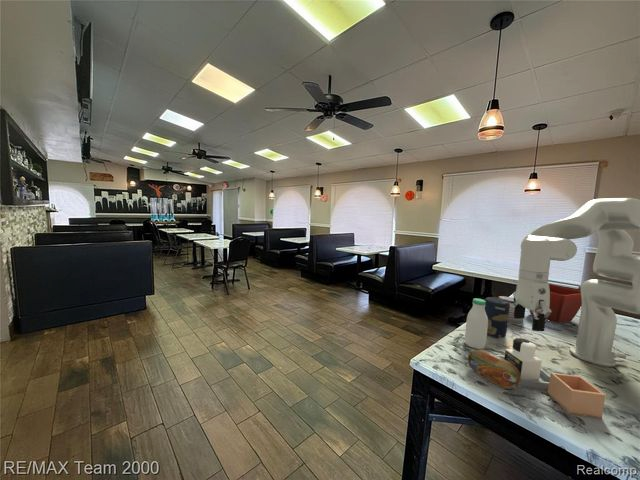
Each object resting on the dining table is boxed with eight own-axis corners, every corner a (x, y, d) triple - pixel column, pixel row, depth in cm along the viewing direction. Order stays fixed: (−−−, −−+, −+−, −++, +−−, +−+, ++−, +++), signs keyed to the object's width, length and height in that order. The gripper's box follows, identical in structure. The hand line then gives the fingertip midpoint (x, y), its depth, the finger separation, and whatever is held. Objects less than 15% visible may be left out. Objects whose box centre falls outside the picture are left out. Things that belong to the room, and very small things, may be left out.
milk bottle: (488, 350, 101) (494, 304, 99) (468, 348, 102) (473, 302, 100) (480, 341, 108) (485, 297, 106) (461, 339, 110) (465, 295, 108)
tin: (466, 368, 89) (468, 346, 88) (470, 365, 90) (473, 344, 90) (516, 395, 76) (519, 369, 75) (520, 391, 78) (523, 366, 77)
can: (492, 317, 135) (494, 296, 134) (504, 314, 140) (506, 293, 139) (515, 326, 125) (518, 303, 124) (527, 322, 130) (530, 300, 128)
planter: (577, 397, 76) (580, 376, 75) (601, 418, 68) (605, 395, 67) (547, 393, 77) (550, 372, 76) (568, 413, 69) (572, 390, 69)
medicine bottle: (502, 367, 89) (506, 335, 88) (521, 367, 90) (525, 335, 89) (519, 380, 82) (524, 346, 81) (539, 380, 83) (544, 346, 81)
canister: (501, 332, 118) (505, 295, 116) (509, 341, 109) (514, 302, 107) (478, 328, 121) (482, 293, 119) (484, 337, 112) (488, 299, 110)
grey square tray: (529, 365, 92) (530, 358, 92) (559, 392, 78) (560, 384, 78) (487, 360, 94) (488, 354, 94) (509, 385, 80) (510, 378, 80)
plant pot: (519, 312, 143) (523, 284, 142) (541, 309, 149) (545, 282, 147) (559, 327, 125) (564, 295, 123) (583, 323, 131) (587, 292, 129)
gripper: (567, 283, 73) (560, 337, 75) (528, 269, 90) (523, 314, 92) (538, 282, 74) (532, 335, 76) (505, 268, 91) (501, 312, 93)
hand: (527, 323), depth 84 cm, fingers open, 9 cm apart
